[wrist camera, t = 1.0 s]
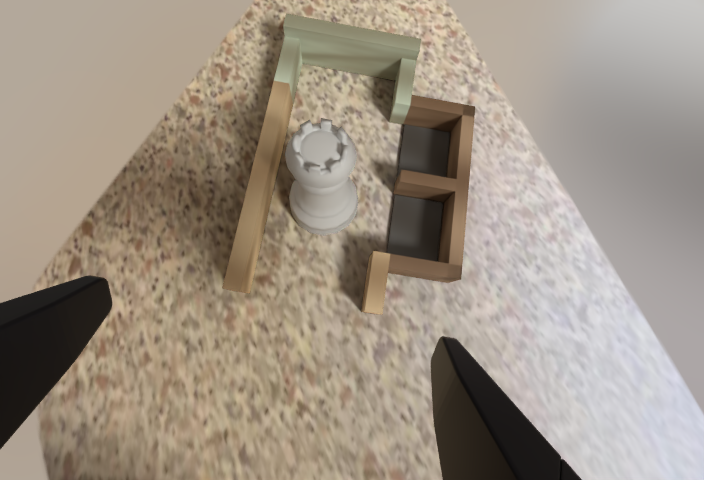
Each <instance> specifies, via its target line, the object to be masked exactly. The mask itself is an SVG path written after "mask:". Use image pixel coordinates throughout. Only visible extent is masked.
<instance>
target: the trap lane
mask: <svg viewBox="0 0 704 480" xmlns="http://www.w3.org/2000/svg"><path fill="white" fill-rule="evenodd" d="M283 28H284V34H285V38H284V42H283V46H282V50H281V54H280V58H279V62H278V66H277V70H276V74H275V78H274V82H273V86H272V90H271V94H270V98H269V102H268V106H267V110H266V114H265V118H264V122H263V126H262V130H261V134H260V138H259V142H258V146H257V150H256V154H255V158H254V162H253V166H252V170H251V174H250V178H249V182H248V187H247V191H246V195H245V199H244V203H243V207H242V211H241V215H240V219H239V223H238V227H237V231H236V235H235V239H234V243H233V247H232V251H231V255H230V259H229V263H228V267H227V271H226V275H225V279H224V283H223V287H222V288H223V289H228V290H232V291H237V292H244V293H250V290H251V286H252V282H253V277H254V273H255V269H256V264H257V260H258V255H259V251H260V247H261V242H262V238H263V234H264V229H265V225H266V220H267V216H268V212H269V207H270V203H271V198H272V194H273V190H274V185H275V181H276V177H277V172H278V168H279V163H280V159H281V155H282V150H283V146H284V142H285V137H286V133H287V128H288V124H289V120H290V115H291V111H292V107H293V102H294V98H295V93H296V89H297V85H298V80H299V76H300V71H301V67H302V63H303V64H308V65H313V66H319V67H324V68H330V69H335V70H340V71H346V72H351V73H357V74H362V75H368V76H373V77H378V78H384V79H389V80H395V87H394V94H393V101H392V107H391V114H390V121H389V122H392V123H398V124H403V125H404V131H403V138H402V145H401V153H400V160H399V167H398V175H397V180H396V182H395V186H394V193H393V194H396V195H395V197H394V204H393V211H392V218H391V226H390V233H389V240H388V248H387V253H383V252H377V251H373V253H372V254H371V255H370V257H369V262H368V269H367V275H366V282H365V289H364V295H363V302H362V309H361V312H366V313H372V314H382V313H383V305H384V298H385V290H386V283H387V275H388V273H392V274H398V275H404V276H410V277H416V278H422V279H428V280H434V281H440V282H446V283H449V282H453V281H457V280H461V274H462V262H463V249H464V237H465V225H466V213H467V200H468V188H469V176H470V164H471V152H472V139H473V127H474V115H475V106H469V105H464V104H458V103H453V102H447V101H442V100H436V99H431V98H425V97H420V96H415V95H412V89H413V81H414V74H415V66H416V60H417V57H418V54H419V51H420V43H421V39H418V38H413V37H408V36H403V35H397V34H392V33H387V32H381V31H376V30H371V29H365V28H360V27H355V26H349V25H344V24H339V23H334V22H328V21H323V20H318V19H312V18H307V17H302V16H296V15H291V14H286V17H285V21H284V25H283ZM449 137H450V142H449ZM448 147H449V152H448ZM447 157H448V162H447ZM446 167H447V172H446ZM400 195H401V196H400ZM406 196H407V197H406ZM411 197H413V198H411ZM417 198H418V199H417ZM423 199H424V200H423ZM428 200H430V201H428ZM434 201H436V202H434ZM440 202H441V203H440ZM442 207H443V213H442ZM441 217H442V223H441ZM440 227H441V233H440ZM439 237H440V243H439ZM438 247H439V253H438ZM437 257H438V262H437Z"/></svg>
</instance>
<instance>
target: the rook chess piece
mask: <svg viewBox="0 0 704 480" xmlns="http://www.w3.org/2000/svg"><path fill="white" fill-rule="evenodd" d="M300 127H301V129H300V130H298V131H296V133H295V134H293V136H292V138H291V139H290V140H289V141H288V145H287V148H286V152H285V157H286V163H287V167H288V169H289V170H290V172H291V173H292V175H293V176H294V178H295V179H296V180H295V181H294V182H293V184H292V187H291V191H290V195H289V200H290V207H291V213H292V216H293V217H294V219H295V220H296V222H297V223H298V225H299V226H301V227H302V228H304V229H305V230H307V231H308V232H310V233H314V234H318V235H323V236H324V235H329V234H335V233H338V232H339V231H341V230H343V229H344V228H346V227H347V226H349V224H350V223H351V221H352V220H353V218H354V217H355V215H356V211H357V206H358V195H357V191H356V186H355V184H354V183H353V182H352V180H351V179H350V177H349V175H350V174H351V172H352V171H353V170H354V168H355V163H356V158H357V154H356V149H355V145H354V143H353V141H352V140H351V138H350V137H349V136H348V134H347V133H346V132H345V131H344V129H343V128H342V126H341V127H340V128H338V127H336V126H334V125H332V120H328V119H323V118H321V123H317V124H312V123H311V121H310V120H308V121H307V122H305V123H303V124H301V125H300Z"/></svg>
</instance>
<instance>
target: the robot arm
mask: <svg viewBox="0 0 704 480" xmlns="http://www.w3.org/2000/svg"><path fill="white" fill-rule="evenodd" d="M111 308H112V298H111V294H110V289H109V285H108V281H107V280H106V279H105V278H102V277H96V276H84V277H81V278H78V279H75V280H72V281H69V282H65V283H62V284H59V285H56V286H53V287H50V288H46V289H43V290H40V291H37V292H34V293H31V294H28V295H24V296H22V297H18V298H15V299H12V300H9V301H6V302H3V303H0V449H1V448H2V447H3V446H4V444H5V443H6V442H7V441H8V440H9V439H10V437H11V436H12V435H13V434H14V433H15V431H16V430H17V429H18V428H19V427H20V426H21V424H22V423H23V422H24V421H25V420H26V419H27V417H28V416H29V415H30V414H31V413H32V411H33V410H34V409H35V408H36V407H37V406H38V404H39V403H40V402H41V401H42V400H43V399H44V397H45V396H46V395H47V394H48V393H49V391H50V390H51V389H52V388H53V387H54V386H55V384H56V383H57V382H58V381H59V380H60V379H61V377H62V376H63V375H64V374H65V373H66V371H67V370H68V369H69V368H70V367H71V365H72V364H73V363H74V362H75V360H76V359H77V358H78V356H79V355H80V354H81V352H82V351H83V349H84V348H85V346H86V345H87V344H88V342H89V341H90V339H91V338H92V336H93V335H94V334H95V332H96V331H97V329H98V328H99V326H100V325H101V323H102V322H103V321H104V319H105V318H106V316H107V315H108V313H109V312H110V310H111ZM431 382H432V401H433V418H434V427H435V434H436V440H437V446H438V452H439V459H440V465H441V471H442V477H443V480H582V479H581V478H580V477H579V476H578V475H577V474H576V473H575V471H574V470H573V469H572V468H571V467H570V466H569V465H568V464H567V462H566V461H565V460H563V459H561V456H560V455H559V454H558V452H557V451H556V450H555V449H554V448H553V447H552V446H551V445H550V443H549V442H548V441H547V440H546V439H545V438H544V437H543V436H542V434H541V433H540V432H539V431H538V430H537V429H536V428H535V427H534V425H533V424H532V423H531V422H530V421H529V420H528V419H527V418H526V416H525V415H524V414H523V413H522V412H521V411H520V410H519V409H518V407H517V406H516V405H515V404H514V403H513V402H512V401H511V400H510V398H509V397H508V396H507V395H506V394H505V393H504V392H503V391H502V389H501V388H500V387H499V386H498V385H497V384H496V383H495V382H494V380H493V379H492V378H491V377H490V376H489V375H488V374H487V373H486V371H485V370H484V369H483V368H482V367H481V366H480V365H479V364H478V362H477V361H476V360H475V359H474V358H473V357H472V356H471V355H470V353H469V352H468V351H467V350H466V349H465V348H464V347H463V346H462V344H461V343H460V342H459V341H458V340H457V339H455V338H450V337H444V336H443V337H441V338H440V339H439V341H438V343H437V346H436V348H435V351H434V353H433V356H432V359H431Z"/></svg>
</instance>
